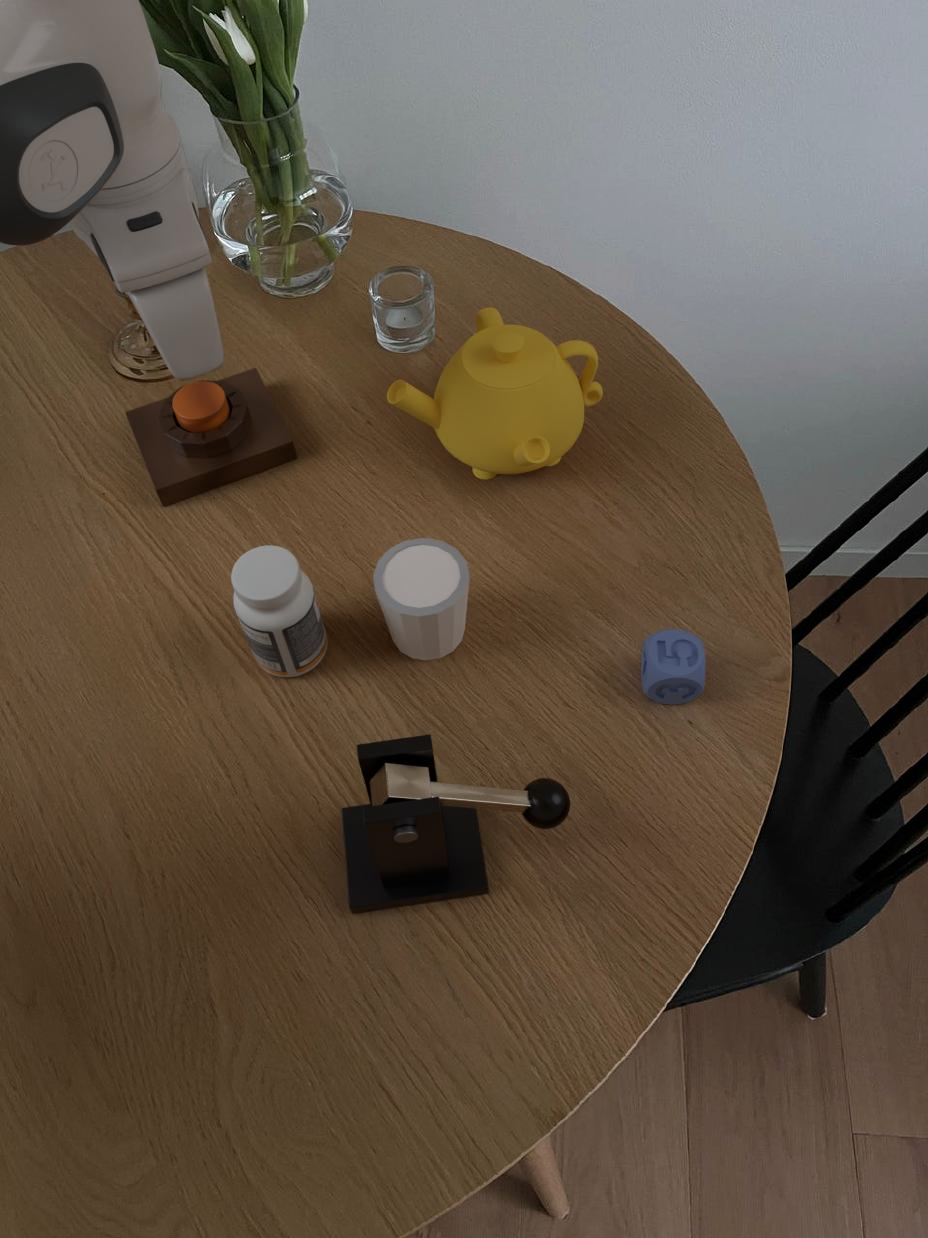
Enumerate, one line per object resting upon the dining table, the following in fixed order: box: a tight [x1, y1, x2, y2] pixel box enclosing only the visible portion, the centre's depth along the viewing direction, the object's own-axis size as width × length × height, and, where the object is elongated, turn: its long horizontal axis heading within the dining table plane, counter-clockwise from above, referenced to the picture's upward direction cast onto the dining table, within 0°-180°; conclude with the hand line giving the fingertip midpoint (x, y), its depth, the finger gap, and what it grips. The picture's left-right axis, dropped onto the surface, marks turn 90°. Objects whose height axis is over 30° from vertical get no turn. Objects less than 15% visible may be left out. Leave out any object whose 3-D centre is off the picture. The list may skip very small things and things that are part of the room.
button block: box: [125, 367, 298, 508], centre depth 91 cm, size 12×10×4 cm
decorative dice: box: [641, 628, 707, 705], centre depth 76 cm, size 4×4×4 cm
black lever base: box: [341, 733, 490, 915], centre depth 66 cm, size 9×7×12 cm
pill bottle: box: [230, 544, 329, 678], centre depth 76 cm, size 6×6×10 cm
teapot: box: [386, 306, 604, 480], centre depth 86 cm, size 14×14×11 cm
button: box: [172, 380, 229, 433], centre depth 89 cm, size 4×4×2 cm
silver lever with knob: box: [370, 763, 571, 830], centre depth 65 cm, size 13×3×3 cm, turn 98°
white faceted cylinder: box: [372, 537, 471, 662], centre depth 78 cm, size 7×7×7 cm
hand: (181, 344), depth 83 cm, fingers closed
